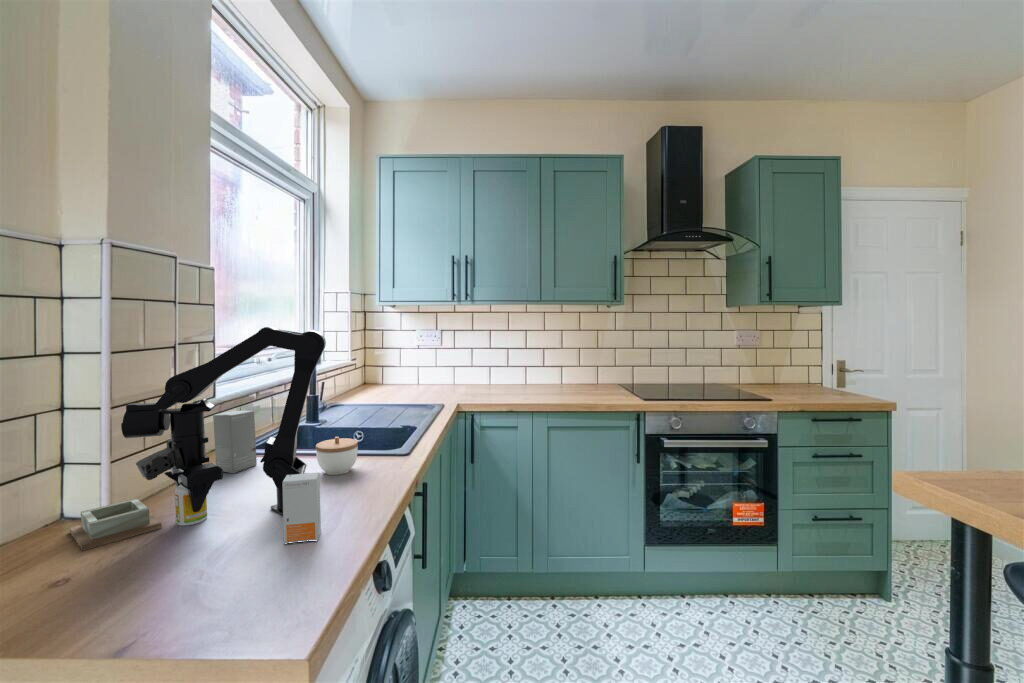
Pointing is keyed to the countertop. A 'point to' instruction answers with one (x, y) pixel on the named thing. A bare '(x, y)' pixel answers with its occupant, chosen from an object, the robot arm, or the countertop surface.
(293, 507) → the skincare box
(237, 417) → the skincare box
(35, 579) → the countertop surface
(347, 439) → the lidded jar
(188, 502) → the supplement bottle
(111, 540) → the socket board
